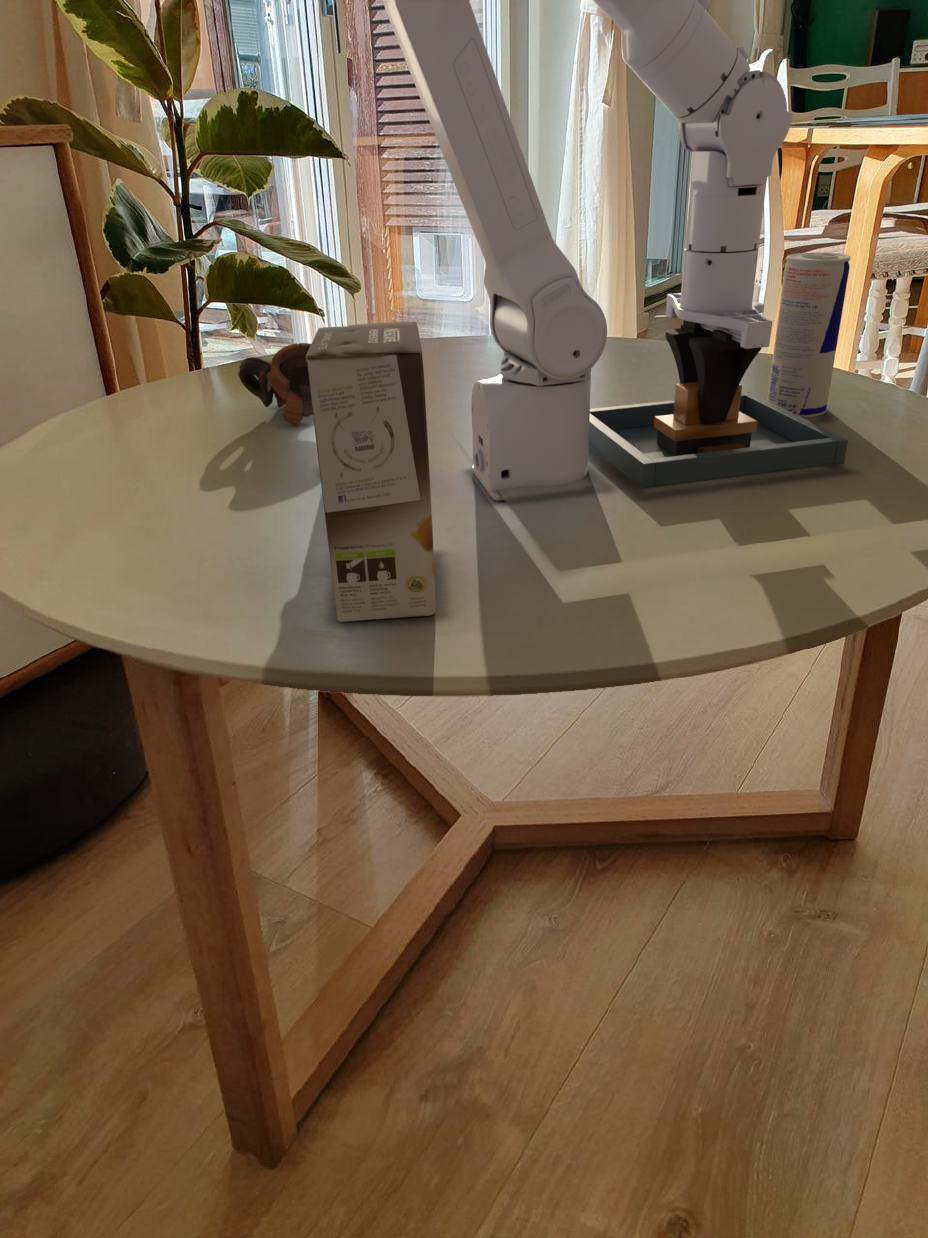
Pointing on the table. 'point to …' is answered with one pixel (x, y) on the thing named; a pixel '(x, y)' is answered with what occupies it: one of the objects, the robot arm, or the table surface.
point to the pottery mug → (281, 381)
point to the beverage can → (808, 331)
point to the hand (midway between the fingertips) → (704, 416)
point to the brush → (700, 424)
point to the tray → (772, 449)
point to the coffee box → (374, 468)
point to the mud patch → (720, 448)
